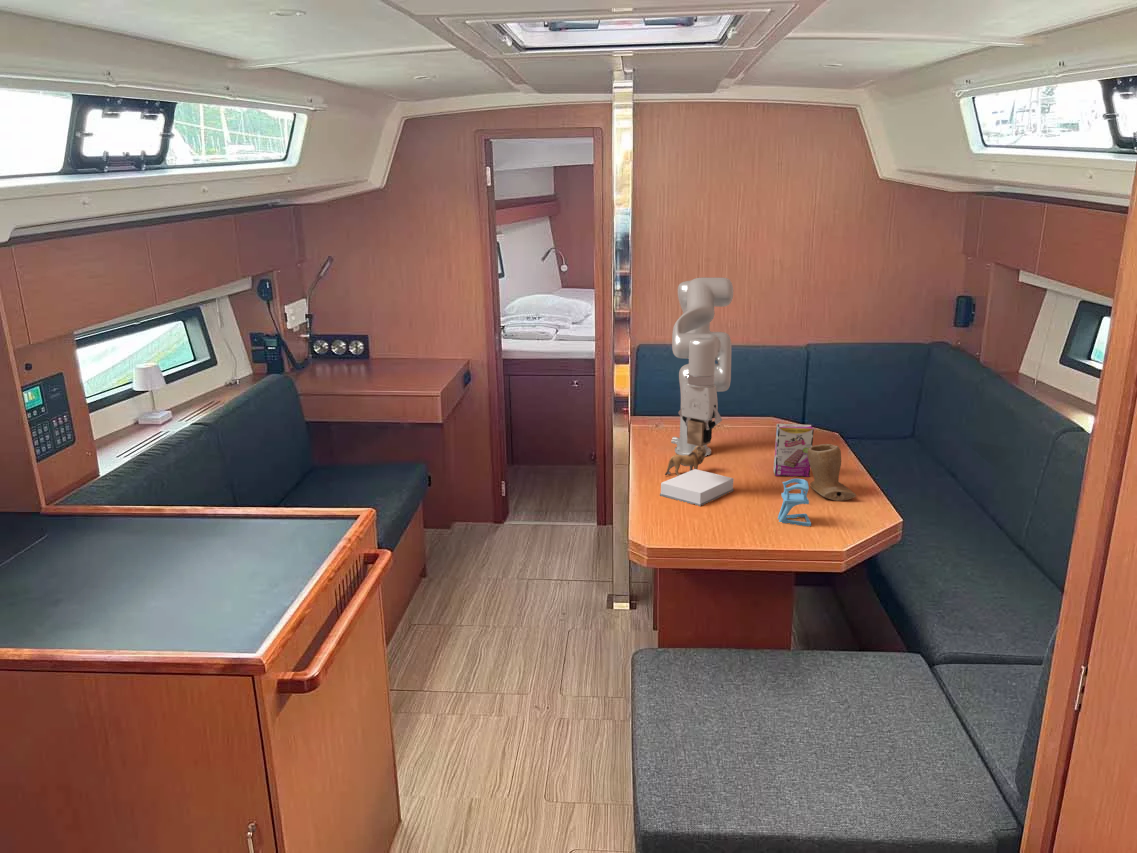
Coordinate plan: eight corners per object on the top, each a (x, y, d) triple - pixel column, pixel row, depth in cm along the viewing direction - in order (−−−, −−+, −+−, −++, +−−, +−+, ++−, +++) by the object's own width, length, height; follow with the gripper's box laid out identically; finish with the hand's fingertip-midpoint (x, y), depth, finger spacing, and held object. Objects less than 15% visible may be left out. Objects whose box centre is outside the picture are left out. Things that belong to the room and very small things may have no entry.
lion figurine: (700, 468, 283) (701, 442, 281) (708, 473, 278) (709, 446, 276) (660, 474, 278) (661, 447, 275) (669, 479, 273) (669, 452, 271)
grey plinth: (659, 495, 258) (660, 482, 257) (694, 480, 271) (694, 468, 270) (700, 506, 249) (700, 493, 247) (733, 490, 262) (734, 478, 261)
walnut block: (687, 443, 255) (687, 420, 254) (696, 439, 259) (697, 417, 257) (701, 446, 252) (702, 423, 250) (710, 442, 256) (711, 420, 254)
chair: (776, 515, 241) (778, 475, 238) (806, 516, 240) (809, 475, 237) (780, 526, 234) (782, 484, 231) (811, 526, 233) (813, 484, 230)
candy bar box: (775, 476, 275) (778, 427, 270) (773, 472, 280) (775, 423, 275) (810, 477, 274) (814, 428, 269) (808, 472, 278) (811, 424, 274)
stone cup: (799, 486, 265) (802, 440, 261) (837, 485, 266) (840, 439, 262) (816, 503, 251) (820, 454, 247) (856, 502, 252) (860, 453, 248)
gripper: (669, 378, 254) (668, 437, 258) (719, 386, 243) (716, 448, 247) (684, 374, 259) (682, 432, 264) (733, 382, 248) (730, 442, 253)
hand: (699, 439), depth 255 cm, fingers closed on walnut block, 5 cm apart
